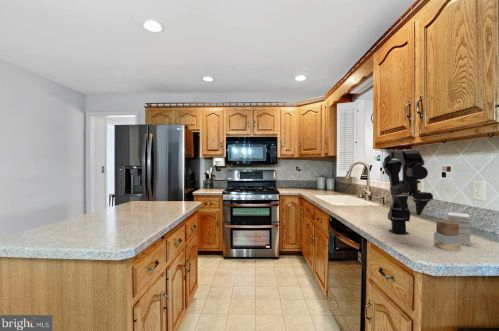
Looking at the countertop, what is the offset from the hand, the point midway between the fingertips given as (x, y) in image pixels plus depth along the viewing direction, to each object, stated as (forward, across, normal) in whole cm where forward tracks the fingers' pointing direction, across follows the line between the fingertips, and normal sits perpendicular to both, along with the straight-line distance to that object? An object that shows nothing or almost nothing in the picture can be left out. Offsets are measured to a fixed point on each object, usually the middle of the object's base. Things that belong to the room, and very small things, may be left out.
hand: (410, 213), depth 107 cm
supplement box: (+13, +3, +20) cm, 24 cm away
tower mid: (+10, +9, +9) cm, 16 cm away
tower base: (+13, +9, +9) cm, 18 cm away
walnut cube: (+7, +9, +9) cm, 15 cm away
